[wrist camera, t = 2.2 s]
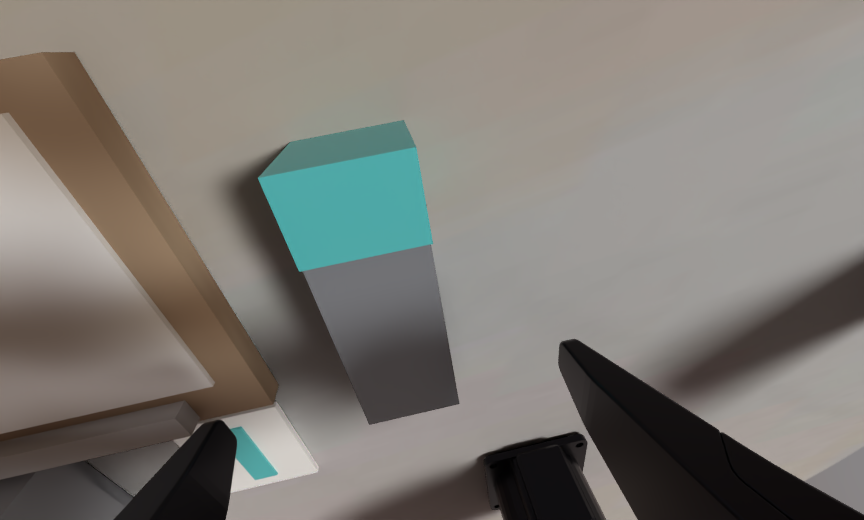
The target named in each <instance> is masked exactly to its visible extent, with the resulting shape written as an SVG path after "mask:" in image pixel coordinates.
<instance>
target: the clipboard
mask: <svg viewBox="0 0 864 520" xmlns="http://www.w3.org/2000/svg"><path fill="white" fill-rule="evenodd" d="M278 386H279V385H278V383H277V381H276V380H275V378H274V377H273V375H272V373H271V372H270V370H269V368H268V367H267V365H266V364H265V362H264V360H263V359H262V357H261V355H260V354H259V352H258V350H257V349H256V347H255V346H254V344H253V342H252V341H251V339H250V337H249V336H248V334H247V333H246V331H245V329H244V328H243V326H242V324H241V323H240V321H239V320H238V318H237V316H236V315H235V313H234V311H233V310H232V308H231V307H230V305H229V303H228V302H227V300H226V298H225V297H224V295H223V293H222V292H221V290H220V289H219V287H218V285H217V284H216V282H215V280H214V279H213V277H212V276H211V274H210V272H209V271H208V269H207V267H206V266H205V264H204V263H203V261H202V259H201V258H200V256H199V254H198V253H197V251H196V250H195V248H194V246H193V245H192V243H191V241H190V240H189V238H188V237H187V235H186V233H185V232H184V230H183V228H182V227H181V225H180V223H179V222H178V220H177V219H176V217H175V215H174V214H173V212H172V210H171V209H170V207H169V206H168V204H167V202H166V201H165V199H164V197H163V196H162V194H161V193H160V191H159V189H158V188H157V186H156V184H155V183H154V181H153V180H152V178H151V176H150V175H149V173H148V171H147V170H146V168H145V166H144V165H143V163H142V162H141V160H140V158H139V157H138V155H137V153H136V152H135V150H134V149H133V147H132V145H131V144H130V142H129V140H128V139H127V137H126V136H125V134H124V132H123V131H122V129H121V127H120V126H119V124H118V123H117V121H116V119H115V118H114V116H113V114H112V113H111V111H110V110H109V108H108V106H107V105H106V103H105V101H104V100H103V98H102V96H101V95H100V93H99V92H98V90H97V88H96V87H95V85H94V83H93V82H92V80H91V79H90V77H89V75H88V74H87V72H86V70H85V69H84V67H83V66H82V64H81V62H80V61H79V59H78V57H77V56H76V54H75V53H74V52H41V53H36V54H30V55H24V56H18V57H13V58H7V59H1V60H0V480H1V479H6V478H10V477H14V476H19V475H23V474H27V473H32V472H36V471H41V470H45V469H49V468H54V467H58V466H62V465H67V464H71V463H75V462H80V461H84V460H89V459H93V458H97V457H102V456H106V455H110V454H115V453H119V452H123V451H128V450H132V449H137V448H141V447H145V446H150V445H154V444H158V443H163V442H167V441H171V440H176V439H180V438H185V437H189V436H191V435H192V434H193V432H194V430H195V428H196V426H197V423H198V421H203V420H207V419H212V418H216V417H220V416H225V415H229V414H234V413H238V412H242V411H247V410H251V409H256V408H260V407H264V406H269V405H273V404H274V401H275V397H276V393H277V390H278Z"/></svg>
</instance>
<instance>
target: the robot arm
mask: <svg viewBox="0 0 864 520" xmlns="http://www.w3.org/2000/svg"><path fill="white" fill-rule="evenodd" d="M558 364H559V368H560V371H561V374H562V376H563V378H564V380H565V383H566V385H567V387H568V390H569V392H570V394H571V396H572V399H573V401H574V403H575V405H576V408H577V410H578V412H579V415H580V417H581V419H582V421H583V423H584V425H585V427H586V429H587V431H588V433H589V435H590V436H591V438H592V440H593V442H594V443H595V445H596V447H597V449H598V450H599V452H600V454H601V456H602V457H603V459H604V461H605V463H606V465H607V466H608V468H609V470H610V472H611V473H612V475H613V477H614V479H615V480H616V482H617V484H618V486H619V487H620V489H621V491H622V493H623V494H624V496H625V498H626V500H627V501H628V503H629V505H630V507H631V508H632V510H633V512H634V514H635V516H636V517H637V519H638V520H864V515H863V514H862V513H860V512H858V511H856V510H854V509H853V508H851V507H849V506H847V505H845V504H844V503H841V502H840V501H838V500H836V499H835V498H833V497H831V496H829V495H827V494H826V493H824V492H822V491H820V490H818V489H817V488H815V487H813V486H811V485H809V484H808V483H805V482H804V481H802V480H801V479H799V478H797V477H795V476H794V475H792V474H790V473H788V472H787V471H785V470H783V469H781V468H780V467H778V466H776V465H774V464H773V463H771V462H770V461H768V460H766V459H765V458H763V457H761V456H760V455H758V454H757V453H755V452H753V451H752V450H750V449H748V448H747V447H745V446H743V445H742V444H740V443H739V442H737V441H736V440H734V439H732V438H731V437H729V436H728V435H726V434H725V433H723V432H721V433H720V432H719V430H718V429H717V428H715V427H713V426H712V425H710V424H709V423H707V422H706V421H704V420H702V419H701V418H699V417H698V416H696V415H695V414H693V413H691V412H690V411H688V410H687V409H685V408H684V407H682V406H681V405H679V404H677V403H676V402H674V401H673V400H671V399H670V398H668V397H666V396H665V395H663V394H662V393H660V392H659V391H657V390H655V389H654V388H652V387H651V386H649V385H648V384H646V383H644V382H643V381H641V380H640V379H638V378H637V377H635V376H634V375H632V374H630V373H629V372H627V371H626V370H624V369H623V368H621V367H619V366H618V365H616V364H615V363H613V362H612V361H610V360H608V359H607V358H605V357H604V356H602V355H601V354H599V353H597V352H596V351H594V350H593V349H591V348H590V347H588V346H587V345H585V344H583V343H582V342H580V341H579V340H576V339H570V340H566V341H562V342H561V343H560V345H559V359H558ZM586 449H587V441H586V439H585V437H584V435H582V434H577V435H573V436H569V437H564V438H560V439H556V440H552V441H548V442H544V443H540V444H535V445H531V446H527V447H523V448H519V449H515V450H511V451H506V452H502V453H498V454H494V455H490V456H488V457H486V458H485V459H484V467H485V475H486V482H487V489H488V497H489V503H490V507H491V509H492V510H498V509H500V510H501V514H502V517H503V520H606V518H605V516H604V514H603V512H602V510H601V508H600V506H599V504H598V502H597V500H596V498H595V496H594V494H593V492H592V490H591V488H590V486H589V484H588V482H587V480H586V478H585V476H584V474H583V466H584V461H585V455H586ZM236 451H237V439H236V436H235V435H234V433H233V432H232V431H231V430H230V429H229V427H228V426H227V425H226V424H225V422H224V421H222V420H214V421H209V422H206V423H203V424H202V425H201V426H200V427H199V428H198V429H197V430H196V431H195V432H194V433H193V434H192V435H191V436H190V437H189V438H188V440H187V441H186V442H185V443H184V444H183V445H182V446H181V447H180V448H179V449H178V450H177V451H176V452H175V454H174V455H173V456H172V457H171V458H170V459H169V460H168V461H167V462H166V463H165V464H164V465H163V467H162V468H161V469H160V470H159V471H158V472H157V473H156V474H155V475H154V476H153V477H152V478H151V479H150V481H149V482H148V483H147V484H146V485H145V486H144V487H143V488H142V489H141V490H140V491H139V492H138V493H137V495H136V496H135V497H134V498H133V499H132V500H131V501H130V502H129V503H128V504H127V505H126V506H125V508H124V509H123V510H122V511H121V512H120V513H119V514H118V515H117V516H116V517H115V518H114V519H113V520H225V519H226V515H227V511H228V505H229V499H230V492H231V485H232V479H233V472H234V465H235V458H236Z"/></svg>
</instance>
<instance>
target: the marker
mask: <svg viewBox="0 0 864 520" xmlns="http://www.w3.org/2000/svg"><path fill="white" fill-rule="evenodd" d="M258 180H259V182H260V184H261V187H262V189H263V191H264V193H265V196H266V198H267V200H268V202H269V205H270V207H271V209H272V211H273V214H274V216H275V218H276V220H277V223H278V225H279V227H280V230H281V232H282V234H283V236H284V239H285V241H286V243H287V245H288V248H289V250H290V252H291V254H292V257H293V259H294V261H295V264H296V266H297V268H298V270H299V272H301V271H303V273H304V276H305V278H306V280H307V282H308V285H309V287H310V289H311V292H312V294H313V296H314V299H315V301H316V303H317V305H318V308H319V310H320V312H321V315H322V317H323V319H324V322H325V324H326V326H327V328H328V331H329V333H330V335H331V338H332V340H333V342H334V345H335V347H336V349H337V352H338V354H339V356H340V358H341V361H342V363H343V365H344V368H345V370H346V372H347V375H348V377H349V379H350V381H351V384H352V386H353V388H354V391H355V393H356V395H357V398H358V400H359V402H360V404H361V407H362V409H363V411H364V414H365V416H366V418H367V421H368V423H369V425H370V424H375V423H379V422H383V421H388V420H392V419H396V418H401V417H405V416H409V415H414V414H418V413H422V412H427V411H431V410H435V409H440V408H444V407H448V406H452V405H457V404H459V399H458V394H457V388H456V383H455V377H454V371H453V366H452V360H451V355H450V349H449V343H448V338H447V332H446V326H445V321H444V315H443V310H442V304H441V298H440V293H439V287H438V282H437V276H436V270H435V265H434V259H433V253H432V248H431V244H433V241H432V235H431V230H430V224H429V218H428V212H427V207H426V201H425V195H424V189H423V184H422V178H421V172H420V167H419V161H418V155H417V149H416V146H415V144H414V141H413V139H412V137H411V135H410V133H409V131H408V128H407V126H406V124H405V122H404V120H402V121H397V122H392V123H387V124H382V125H376V126H371V127H366V128H361V129H355V130H350V131H345V132H340V133H335V134H329V135H324V136H319V137H314V138H309V139H303V140H298V141H293V142H290V143H289V144H288V145H287V146H286V147H285V148H284V149H283V151H282V152H281V153H280V154H279V155H278V156H277V157H276V158H275V159H274V161H273V162H272V163H271V164H270V165H269V166H268V167H267V168H266V169H265V171H264V172H263V173H262V174H261V175H260V176H259V177H258Z"/></svg>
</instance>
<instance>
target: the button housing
mask: <svg viewBox="0 0 864 520" xmlns="http://www.w3.org/2000/svg"><path fill="white" fill-rule="evenodd" d="M132 499H133V497H132V496H130V495H129V494H128V493H126V492H125V491H124V490H122V489H121V488H120V487H118V486H117V485H116V484H114V483H113V482H112V481H110V480H109V479H108V478H106V477H105V476H104V475H102V474H101V473H100V472H98V471H97V470H96V469H94V468H93V467H92V466H90V465H89V464H87V463H86V462H85V461H80V462H75V463H71V464H67V465H62V466H58V467H54V468H49V469H45V470H41V471H36V472H32V473H27V474H23V475H19V476H14V477H10V478H6V479H1V480H0V520H113V519H114V518H115V517H116V516H117V515H118V514H119V513H120V512H121V511H122V510H123V509H124V508H125V506H126V505H127V504H128V503H129V502H130V501H131V500H132Z"/></svg>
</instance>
